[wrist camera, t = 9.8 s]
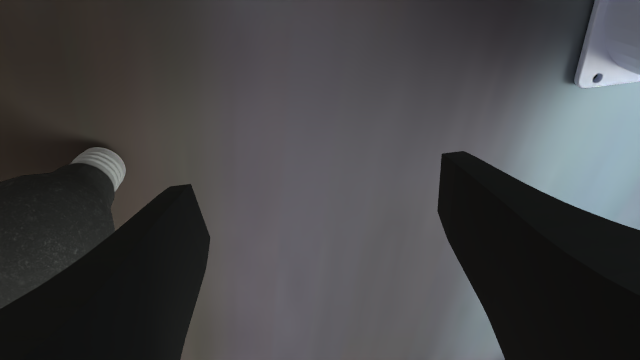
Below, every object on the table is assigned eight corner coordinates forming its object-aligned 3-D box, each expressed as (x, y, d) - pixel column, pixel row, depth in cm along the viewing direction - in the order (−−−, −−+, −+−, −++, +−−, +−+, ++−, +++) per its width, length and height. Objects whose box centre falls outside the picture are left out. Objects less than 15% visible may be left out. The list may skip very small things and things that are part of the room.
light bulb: (73, 198, 23) (-57, 349, 15) (40, 112, 20) (-148, 240, 11) (167, 199, 23) (94, 346, 15) (149, 114, 20) (43, 240, 12)
